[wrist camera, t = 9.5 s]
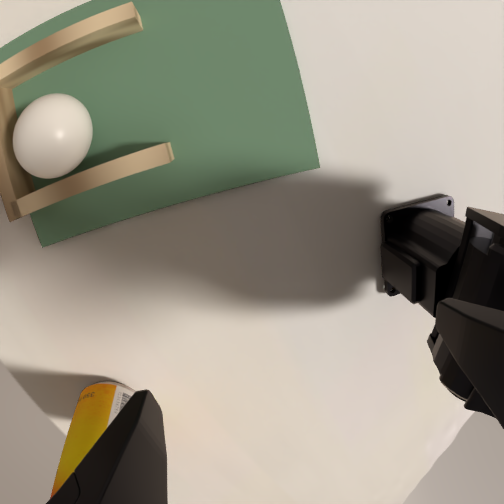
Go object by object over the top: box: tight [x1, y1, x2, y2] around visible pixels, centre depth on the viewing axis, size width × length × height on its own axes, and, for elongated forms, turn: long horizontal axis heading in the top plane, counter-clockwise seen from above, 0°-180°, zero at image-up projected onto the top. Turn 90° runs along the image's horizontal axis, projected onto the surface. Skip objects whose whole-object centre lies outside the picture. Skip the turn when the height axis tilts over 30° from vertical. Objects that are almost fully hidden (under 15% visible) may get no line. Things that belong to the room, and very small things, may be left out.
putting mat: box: [0, 0, 320, 248], centre depth 16 cm, size 18×14×1 cm
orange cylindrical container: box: [50, 381, 135, 499], centre depth 16 cm, size 6×6×15 cm
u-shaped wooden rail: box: [0, 2, 174, 222], centre depth 14 cm, size 10×9×2 cm
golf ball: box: [13, 93, 93, 179], centre depth 14 cm, size 4×4×4 cm
